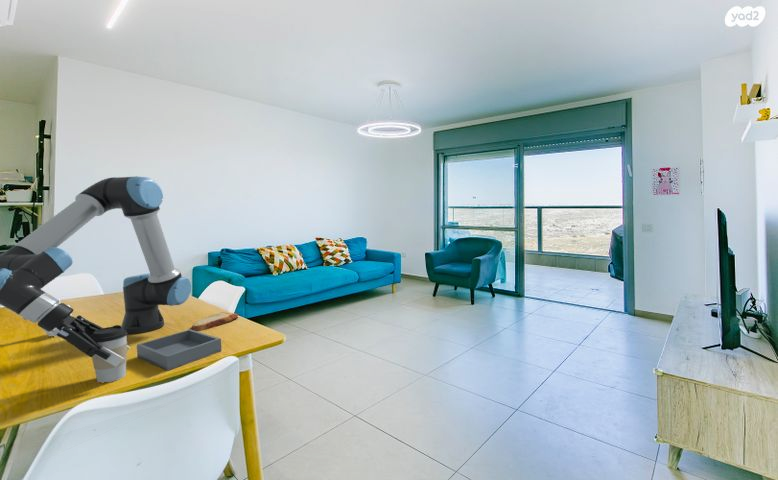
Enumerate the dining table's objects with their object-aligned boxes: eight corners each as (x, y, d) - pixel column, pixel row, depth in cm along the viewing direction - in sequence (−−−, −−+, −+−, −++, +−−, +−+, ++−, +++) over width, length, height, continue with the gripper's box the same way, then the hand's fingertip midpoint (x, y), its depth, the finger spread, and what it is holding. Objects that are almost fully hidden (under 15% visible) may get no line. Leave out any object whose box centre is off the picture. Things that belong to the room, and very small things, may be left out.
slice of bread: (190, 333, 145) (189, 324, 145) (196, 320, 162) (196, 312, 162) (237, 327, 151) (236, 318, 151) (239, 315, 168) (238, 308, 168)
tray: (137, 357, 120) (136, 344, 120) (190, 340, 135) (189, 329, 135) (167, 370, 110) (166, 356, 109) (221, 350, 125) (220, 338, 124)
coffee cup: (109, 386, 100) (105, 334, 99) (83, 383, 102) (79, 333, 101) (137, 371, 109) (134, 324, 108) (113, 369, 111) (110, 323, 110)
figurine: (77, 332, 146) (74, 297, 145) (48, 340, 138) (44, 302, 136) (68, 330, 149) (64, 295, 148) (38, 337, 141) (35, 300, 139)
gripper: (51, 313, 106) (120, 354, 115) (18, 335, 87) (104, 382, 96) (72, 294, 108) (139, 335, 117) (45, 311, 89) (126, 359, 98)
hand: (123, 356), depth 106 cm, fingers closed on coffee cup, 9 cm apart
